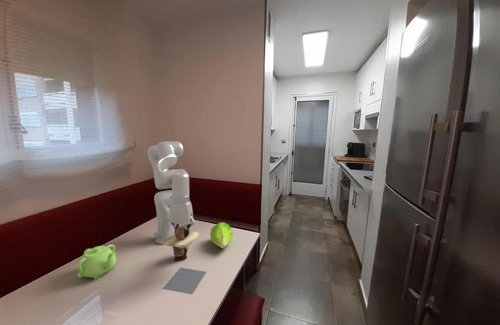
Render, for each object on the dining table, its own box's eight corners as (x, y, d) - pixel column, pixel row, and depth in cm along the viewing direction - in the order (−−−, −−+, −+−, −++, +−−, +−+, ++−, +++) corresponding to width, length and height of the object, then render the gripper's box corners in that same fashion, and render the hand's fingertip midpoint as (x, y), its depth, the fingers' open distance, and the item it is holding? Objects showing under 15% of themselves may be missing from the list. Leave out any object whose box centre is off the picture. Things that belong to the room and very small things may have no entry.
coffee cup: (183, 265, 101) (182, 241, 99) (169, 263, 102) (168, 239, 101) (192, 255, 109) (191, 233, 107) (178, 253, 111) (177, 231, 109)
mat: (162, 289, 85) (162, 288, 85) (180, 268, 98) (180, 267, 98) (192, 295, 82) (192, 294, 82) (206, 272, 95) (206, 271, 95)
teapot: (123, 259, 105) (122, 237, 103) (116, 277, 92) (113, 252, 90) (86, 266, 99) (84, 242, 98) (72, 286, 86) (69, 259, 85)
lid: (163, 244, 90) (162, 232, 89) (178, 231, 101) (177, 220, 100) (187, 248, 87) (186, 235, 86) (199, 235, 99) (199, 223, 98)
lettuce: (209, 257, 108) (209, 236, 106) (210, 238, 127) (210, 220, 126) (234, 254, 110) (234, 234, 108) (232, 236, 130) (232, 219, 128)
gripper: (159, 200, 89) (161, 237, 92) (193, 203, 86) (194, 242, 89) (169, 194, 97) (171, 229, 99) (201, 198, 93) (201, 234, 96)
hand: (182, 235), depth 94 cm, fingers closed on lid, 4 cm apart
